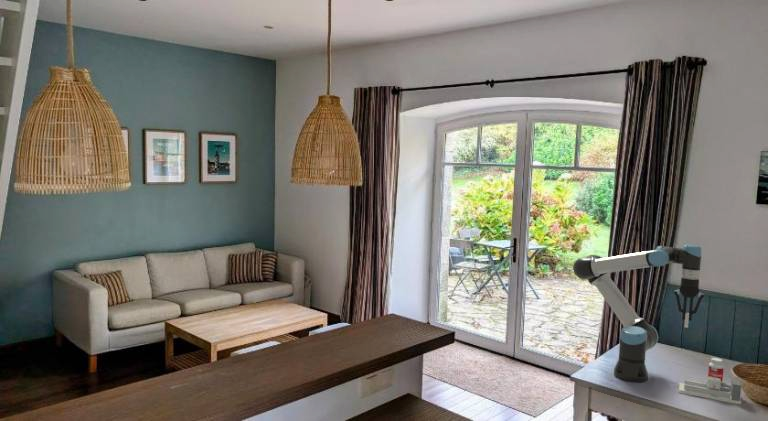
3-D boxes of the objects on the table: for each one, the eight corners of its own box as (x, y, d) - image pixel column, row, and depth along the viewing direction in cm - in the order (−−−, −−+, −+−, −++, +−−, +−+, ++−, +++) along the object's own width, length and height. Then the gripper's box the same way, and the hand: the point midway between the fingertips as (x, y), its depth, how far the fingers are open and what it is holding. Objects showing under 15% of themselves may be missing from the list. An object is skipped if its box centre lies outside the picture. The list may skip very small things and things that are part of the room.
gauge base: (678, 392, 259) (680, 374, 258) (679, 385, 267) (680, 368, 267) (740, 404, 247) (742, 386, 247) (739, 396, 256) (740, 378, 255)
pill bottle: (708, 382, 272) (710, 360, 271) (706, 378, 278) (708, 356, 277) (723, 385, 269) (725, 362, 269) (721, 380, 275) (723, 358, 274)
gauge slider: (706, 394, 253) (708, 381, 253) (706, 389, 260) (707, 376, 259) (724, 397, 250) (725, 384, 250) (723, 392, 257) (724, 379, 256)
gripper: (674, 277, 269) (670, 326, 271) (706, 281, 263) (702, 331, 265) (674, 275, 275) (671, 322, 277) (705, 278, 269) (701, 327, 271)
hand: (686, 326), depth 271 cm, fingers closed
